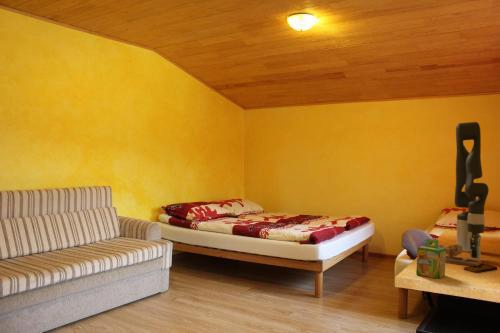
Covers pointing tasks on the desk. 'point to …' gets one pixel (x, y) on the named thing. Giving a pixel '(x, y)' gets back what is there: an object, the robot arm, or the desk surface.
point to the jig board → (463, 261)
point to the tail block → (477, 252)
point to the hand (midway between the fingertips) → (475, 256)
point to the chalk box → (431, 260)
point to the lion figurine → (452, 250)
